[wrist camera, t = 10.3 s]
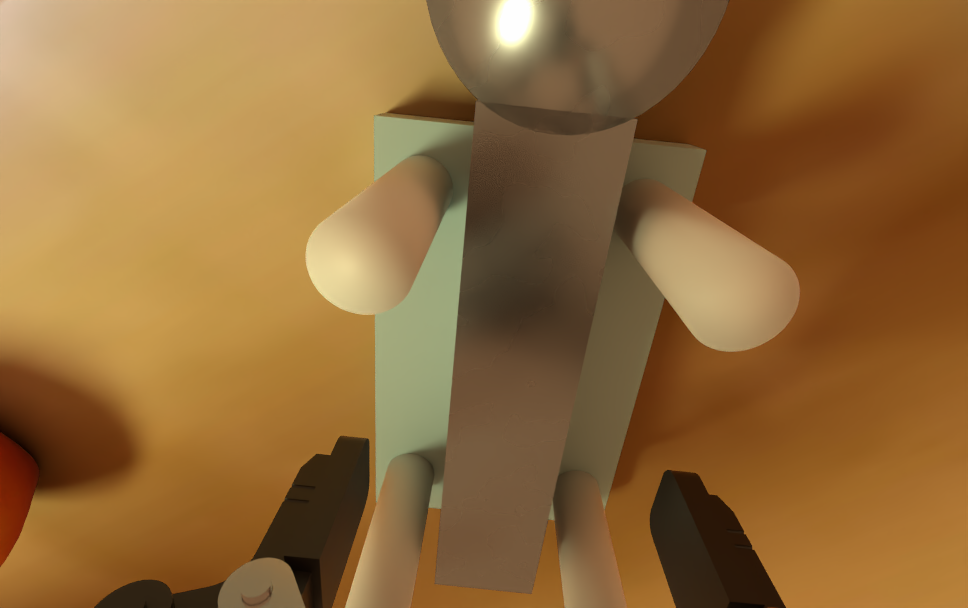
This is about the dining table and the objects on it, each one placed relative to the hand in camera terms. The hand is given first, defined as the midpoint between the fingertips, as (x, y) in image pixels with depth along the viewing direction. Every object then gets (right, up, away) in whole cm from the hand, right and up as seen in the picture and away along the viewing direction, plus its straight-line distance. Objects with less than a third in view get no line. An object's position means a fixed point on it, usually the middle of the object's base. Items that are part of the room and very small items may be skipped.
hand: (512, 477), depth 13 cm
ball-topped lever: (+1, +7, +3) cm, 7 cm away
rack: (0, +3, +6) cm, 7 cm away
